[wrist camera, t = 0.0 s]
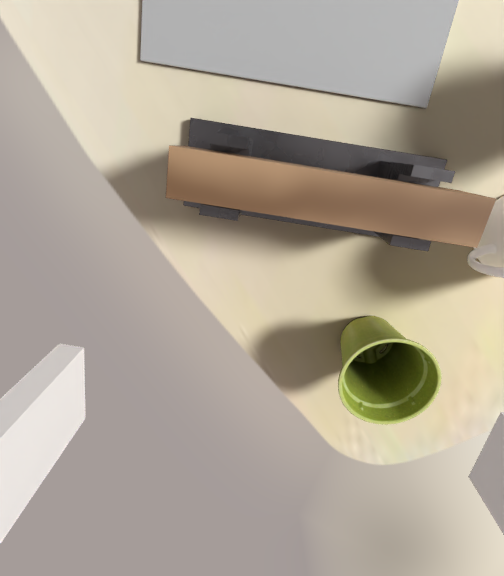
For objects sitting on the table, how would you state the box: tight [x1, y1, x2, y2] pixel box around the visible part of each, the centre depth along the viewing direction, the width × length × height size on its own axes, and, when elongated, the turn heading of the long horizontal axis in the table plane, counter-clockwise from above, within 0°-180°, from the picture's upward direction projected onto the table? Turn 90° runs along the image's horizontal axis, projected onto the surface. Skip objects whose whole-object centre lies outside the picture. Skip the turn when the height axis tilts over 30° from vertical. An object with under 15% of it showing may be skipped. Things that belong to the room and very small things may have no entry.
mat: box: [140, 0, 459, 108], centre depth 31 cm, size 10×26×1 cm, turn 81°
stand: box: [184, 118, 455, 251], centre depth 31 cm, size 8×24×9 cm, turn 81°
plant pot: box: [338, 316, 441, 425], centre depth 38 cm, size 9×9×9 cm
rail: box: [166, 146, 496, 248], centre depth 27 cm, size 3×22×5 cm, turn 82°
